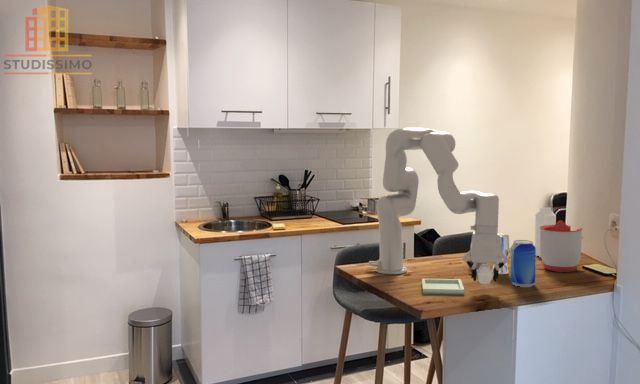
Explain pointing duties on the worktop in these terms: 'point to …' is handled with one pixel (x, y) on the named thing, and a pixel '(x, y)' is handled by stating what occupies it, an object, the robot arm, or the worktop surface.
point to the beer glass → (504, 252)
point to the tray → (442, 286)
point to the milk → (543, 219)
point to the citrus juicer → (560, 247)
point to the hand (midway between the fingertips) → (484, 279)
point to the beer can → (523, 263)
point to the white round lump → (484, 274)
